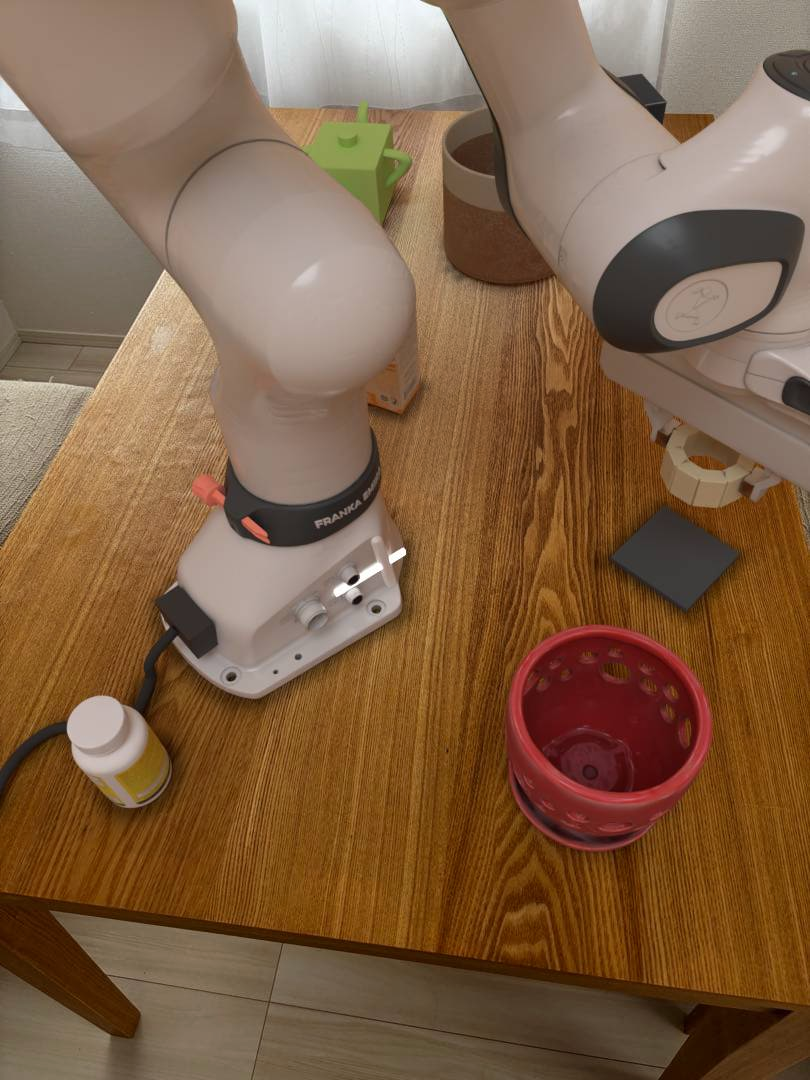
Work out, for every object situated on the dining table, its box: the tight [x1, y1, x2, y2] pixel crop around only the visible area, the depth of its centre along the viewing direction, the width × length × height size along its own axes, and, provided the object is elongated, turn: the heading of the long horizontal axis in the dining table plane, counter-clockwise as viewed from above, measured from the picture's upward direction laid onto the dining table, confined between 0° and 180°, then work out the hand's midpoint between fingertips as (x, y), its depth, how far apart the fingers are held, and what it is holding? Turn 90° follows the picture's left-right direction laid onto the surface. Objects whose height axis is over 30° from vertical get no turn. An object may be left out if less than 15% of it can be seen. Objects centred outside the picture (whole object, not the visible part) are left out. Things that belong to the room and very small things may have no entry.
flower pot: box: [504, 623, 714, 853], centre depth 61 cm, size 13×13×12 cm
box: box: [617, 73, 668, 127], centre depth 109 cm, size 8×6×11 cm
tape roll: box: [659, 422, 756, 509], centre depth 67 cm, size 6×7×3 cm
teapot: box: [299, 100, 413, 227], centre depth 107 cm, size 15×13×11 cm
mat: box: [609, 505, 741, 614], centre depth 76 cm, size 8×8×1 cm
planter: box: [441, 105, 555, 285], centre depth 100 cm, size 16×16×14 cm
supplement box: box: [365, 308, 420, 415], centre depth 86 cm, size 8×5×13 cm, turn 64°
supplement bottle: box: [66, 695, 173, 809], centre depth 64 cm, size 5×5×10 cm
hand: (706, 466), depth 67 cm, fingers closed on tape roll, 6 cm apart
